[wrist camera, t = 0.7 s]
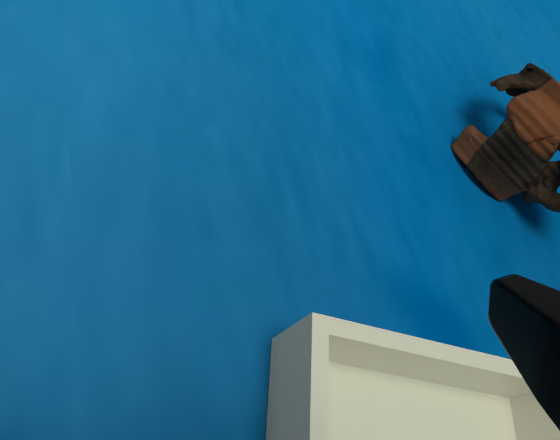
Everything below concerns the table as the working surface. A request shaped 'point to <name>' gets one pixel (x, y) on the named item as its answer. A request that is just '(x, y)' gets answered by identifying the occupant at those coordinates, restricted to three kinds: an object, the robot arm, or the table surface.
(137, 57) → the table surface
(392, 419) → the gray and white box
